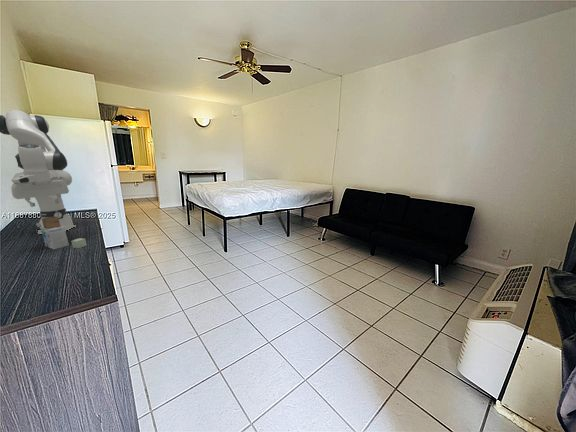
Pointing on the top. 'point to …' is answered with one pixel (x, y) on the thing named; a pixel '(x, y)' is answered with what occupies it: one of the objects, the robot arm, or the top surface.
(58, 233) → the light bulb box
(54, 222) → the walnut cube
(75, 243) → the sage block
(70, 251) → the top surface
